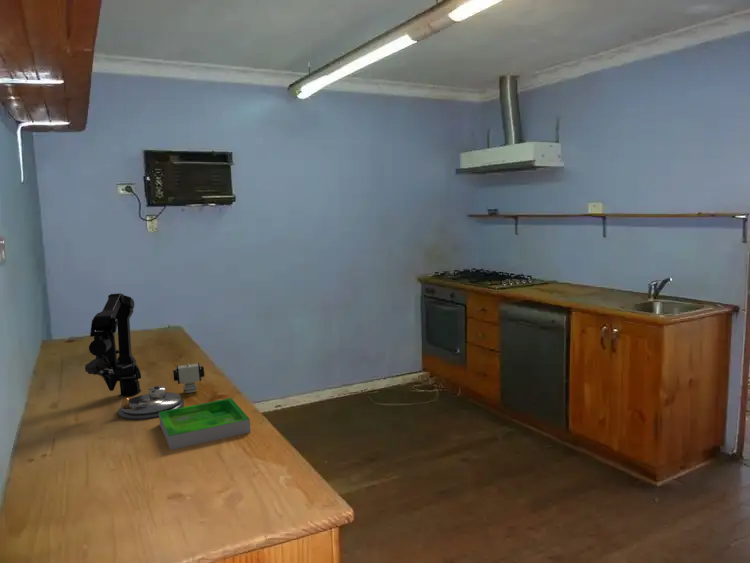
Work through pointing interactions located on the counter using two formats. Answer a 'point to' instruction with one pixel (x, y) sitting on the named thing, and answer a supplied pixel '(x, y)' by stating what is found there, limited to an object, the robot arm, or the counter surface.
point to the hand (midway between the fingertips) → (111, 390)
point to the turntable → (149, 404)
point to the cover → (157, 392)
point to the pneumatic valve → (189, 376)
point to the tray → (203, 423)
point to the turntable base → (148, 416)
